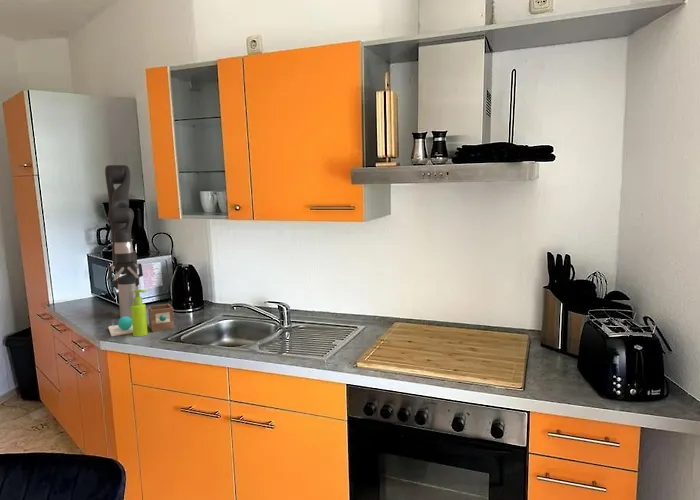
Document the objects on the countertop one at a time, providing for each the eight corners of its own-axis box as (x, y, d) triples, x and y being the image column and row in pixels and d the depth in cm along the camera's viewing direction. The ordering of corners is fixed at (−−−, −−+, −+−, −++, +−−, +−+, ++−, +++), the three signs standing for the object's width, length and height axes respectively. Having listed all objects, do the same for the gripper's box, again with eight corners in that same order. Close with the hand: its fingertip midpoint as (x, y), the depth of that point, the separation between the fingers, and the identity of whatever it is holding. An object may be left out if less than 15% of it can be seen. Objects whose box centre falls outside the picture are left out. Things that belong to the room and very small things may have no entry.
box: (149, 327, 230) (147, 306, 228) (170, 324, 234) (168, 303, 233) (152, 332, 222) (151, 310, 220) (174, 329, 226) (173, 307, 225)
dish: (108, 328, 228) (108, 326, 228) (138, 324, 235) (138, 322, 235) (111, 336, 217) (111, 333, 217) (143, 331, 224) (143, 328, 223)
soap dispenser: (144, 336, 215) (141, 291, 213) (130, 336, 217) (126, 291, 214) (152, 332, 221) (149, 288, 218) (138, 332, 223) (135, 288, 220)
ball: (117, 328, 227) (116, 316, 226) (131, 326, 230) (130, 314, 229) (119, 332, 222) (118, 319, 221) (133, 330, 225) (132, 317, 224)
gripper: (139, 250, 232) (142, 284, 234) (105, 252, 225) (108, 288, 227) (142, 251, 226) (144, 286, 228) (107, 253, 219) (110, 290, 220)
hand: (126, 287), depth 227 cm, fingers open, 8 cm apart
